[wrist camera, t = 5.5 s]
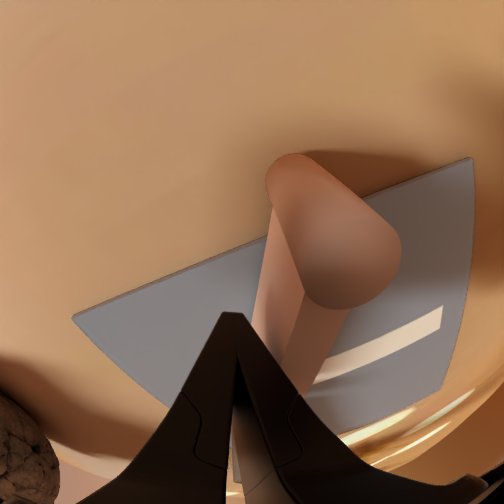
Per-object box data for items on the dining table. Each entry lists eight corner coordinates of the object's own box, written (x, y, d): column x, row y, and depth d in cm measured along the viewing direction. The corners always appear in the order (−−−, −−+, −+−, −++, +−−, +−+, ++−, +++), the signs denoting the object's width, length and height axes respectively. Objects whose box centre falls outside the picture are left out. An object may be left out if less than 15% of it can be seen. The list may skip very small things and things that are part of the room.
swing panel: (265, 387, 15) (275, 465, 11) (231, 386, 15) (235, 467, 11) (327, 159, 9) (415, 224, 4) (270, 149, 9) (316, 208, 4)
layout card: (439, 387, 21) (440, 389, 21) (246, 454, 24) (246, 457, 24) (469, 157, 10) (473, 159, 9) (72, 315, 13) (70, 319, 12)
